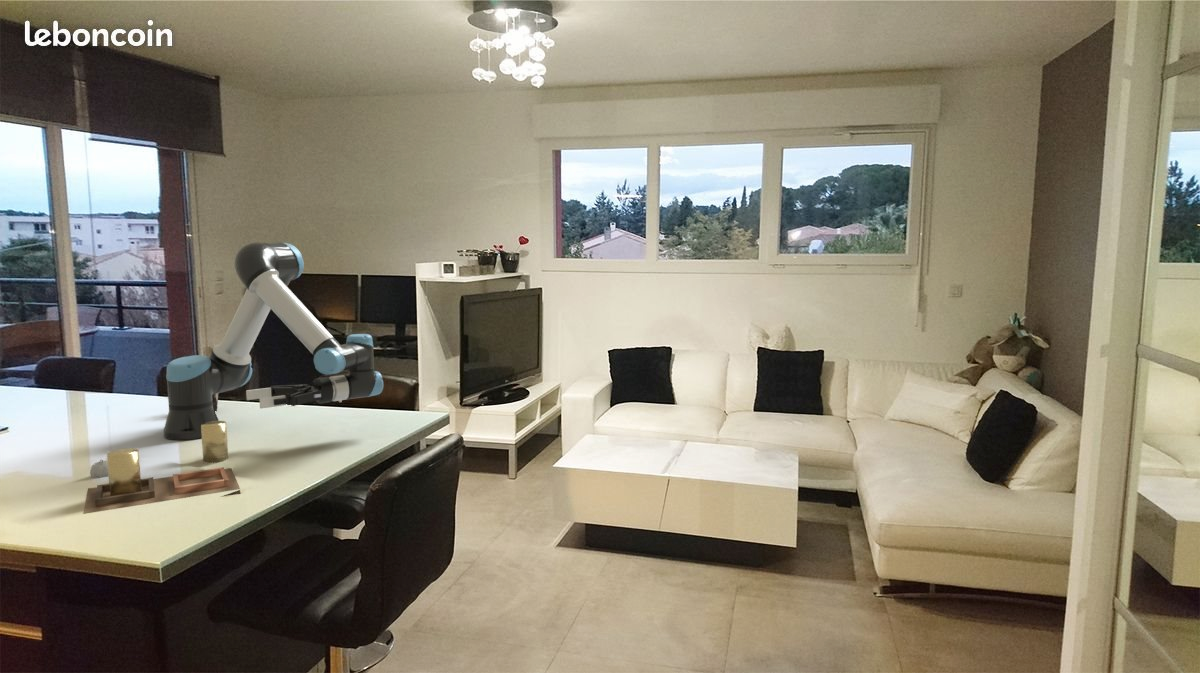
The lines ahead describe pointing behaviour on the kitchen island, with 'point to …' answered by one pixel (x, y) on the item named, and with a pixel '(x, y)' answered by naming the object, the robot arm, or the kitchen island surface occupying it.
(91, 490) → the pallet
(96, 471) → the garlic
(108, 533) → the kitchen island surface
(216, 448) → the brass billet
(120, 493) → the cylinder
